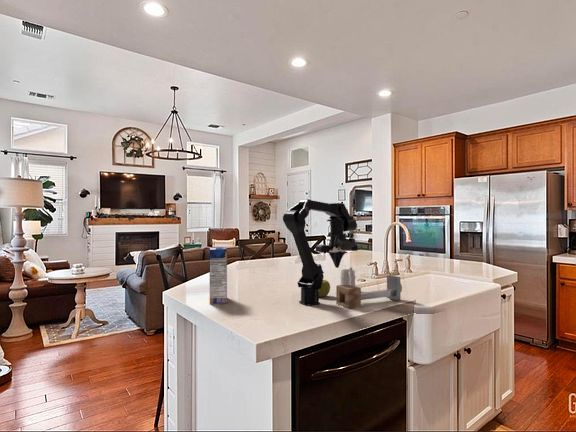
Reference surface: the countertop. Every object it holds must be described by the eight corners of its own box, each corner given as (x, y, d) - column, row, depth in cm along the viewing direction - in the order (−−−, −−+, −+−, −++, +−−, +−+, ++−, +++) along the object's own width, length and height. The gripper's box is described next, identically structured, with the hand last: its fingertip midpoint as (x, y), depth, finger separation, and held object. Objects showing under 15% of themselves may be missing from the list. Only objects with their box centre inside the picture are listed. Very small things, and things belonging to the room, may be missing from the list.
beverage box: (209, 304, 143) (209, 249, 144) (210, 298, 154) (210, 247, 154) (226, 303, 145) (226, 249, 145) (226, 297, 156) (226, 247, 156)
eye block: (348, 308, 136) (348, 289, 136) (336, 304, 143) (336, 285, 143) (360, 307, 138) (360, 287, 139) (348, 302, 146) (348, 284, 146)
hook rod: (356, 305, 139) (356, 281, 139) (347, 302, 144) (347, 278, 144) (402, 299, 149) (402, 276, 149) (392, 296, 154) (392, 274, 155)
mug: (353, 289, 174) (353, 264, 174) (360, 294, 162) (360, 267, 162) (338, 289, 173) (338, 264, 173) (344, 294, 161) (344, 268, 161)
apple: (328, 299, 153) (328, 282, 153) (310, 297, 155) (310, 281, 155) (331, 295, 160) (331, 279, 160) (314, 294, 162) (314, 278, 162)
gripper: (328, 232, 144) (328, 271, 144) (365, 232, 152) (365, 268, 152) (314, 232, 154) (314, 268, 154) (350, 231, 162) (350, 265, 162)
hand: (337, 267), depth 155 cm, fingers closed
